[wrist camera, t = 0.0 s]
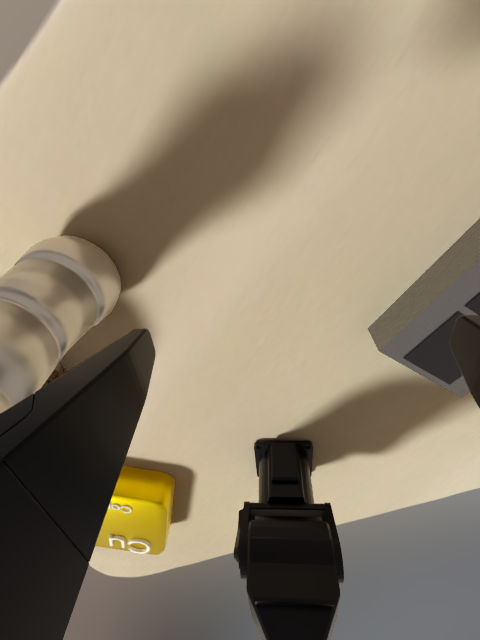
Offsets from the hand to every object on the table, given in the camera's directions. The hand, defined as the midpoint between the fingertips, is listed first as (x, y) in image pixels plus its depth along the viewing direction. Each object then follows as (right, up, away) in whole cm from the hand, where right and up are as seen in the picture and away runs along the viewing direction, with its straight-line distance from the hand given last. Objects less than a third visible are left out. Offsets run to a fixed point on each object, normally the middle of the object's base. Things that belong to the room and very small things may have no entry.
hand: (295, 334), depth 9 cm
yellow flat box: (-19, -24, +35) cm, 46 cm away
